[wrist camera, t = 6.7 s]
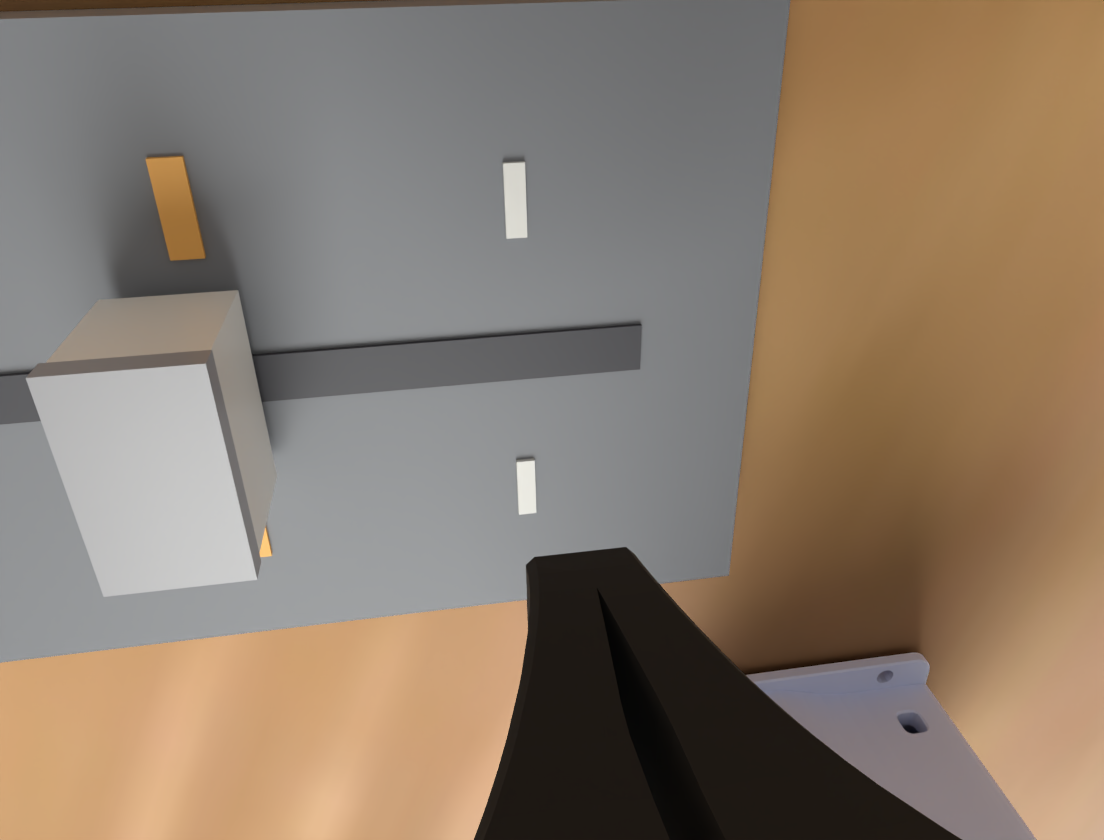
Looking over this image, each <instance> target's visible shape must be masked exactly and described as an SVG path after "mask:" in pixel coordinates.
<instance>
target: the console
mask: <svg viewBox="0 0 1104 840" xmlns="http://www.w3.org/2000/svg"><path fill="white" fill-rule="evenodd" d="M789 8H790V0H385V1H350V2H316V3H281V4H247V5H212V6H177V7H143V8H108V9H74V10H39V11H5V12H0V663H1V662H9V661H17V660H26V659H34V658H42V657H51V656H59V655H68V654H76V653H84V652H93V651H101V650H109V649H118V648H126V647H135V646H143V645H151V644H160V643H168V642H176V641H185V640H193V639H202V638H210V637H218V636H227V635H235V634H243V633H252V632H260V631H269V630H277V629H285V628H294V627H302V626H310V625H319V624H327V623H336V622H344V621H352V620H361V619H369V618H377V617H386V616H394V615H403V614H411V613H419V612H428V611H436V610H444V609H453V608H461V607H470V606H478V605H486V604H495V603H503V602H511V601H520V600H527V585H526V564H527V563H528V562H529V561H531V560H532V559H533V558H534V557H538V556H547V555H556V554H566V553H575V552H584V551H593V550H602V549H611V548H620V547H627V548H628V549H629V550H631V551H632V552H633V553H634V554H635V555H636V556H637V558H638V559H639V560H640V561H641V563H642V564H643V565H644V566H645V567H646V569H647V570H648V571H649V572H650V574H651V575H652V576H653V577H654V578H655V579H656V581H657V582H658V583H659V584H662V583H671V582H679V581H687V580H696V579H704V578H712V577H721V576H729V570H730V560H731V551H732V542H733V532H734V523H735V514H736V504H737V495H738V485H739V476H740V467H741V457H742V448H743V439H744V429H745V420H746V411H747V401H748V392H749V382H750V373H751V364H752V354H753V345H754V336H755V326H756V317H757V308H758V298H759V289H760V280H761V270H762V261H763V251H764V242H765V233H766V223H767V214H768V205H769V195H770V186H771V177H772V167H773V158H774V148H775V139H776V130H777V120H778V111H779V102H780V92H781V83H782V74H783V64H784V55H785V45H786V36H787V27H788V17H789ZM232 290H238V292H239V296H240V301H241V306H242V311H243V316H244V320H245V325H246V330H247V335H248V339H249V344H250V349H251V354H252V359H253V363H254V368H255V373H256V378H257V383H258V387H259V392H260V397H261V402H262V406H263V411H264V416H265V421H266V426H267V430H268V435H269V440H270V445H271V450H272V454H273V459H274V464H275V469H276V473H277V478H276V482H275V487H274V491H273V495H272V500H271V504H270V509H269V513H268V517H267V522H266V526H265V531H264V535H263V540H262V544H261V548H260V558H261V566H260V570H259V575H258V579H257V580H251V581H242V582H233V583H224V584H215V585H206V586H197V587H188V588H179V589H170V590H161V591H152V592H144V593H135V594H126V595H117V596H108V597H104V596H103V594H102V591H101V588H100V585H99V582H98V580H97V577H96V574H95V571H94V568H93V566H92V563H91V560H90V557H89V554H88V552H87V549H86V546H85V543H84V540H83V538H82V535H81V532H80V529H79V526H78V524H77V521H76V518H75V515H74V512H73V510H72V507H71V504H70V501H69V498H68V496H67V493H66V490H65V487H64V484H63V481H62V479H61V476H60V473H59V470H58V467H57V465H56V462H55V459H54V456H53V453H52V451H51V448H50V445H49V442H48V439H47V437H46V434H45V431H44V428H43V425H42V423H41V420H40V417H39V414H38V411H37V409H36V406H35V403H34V400H33V397H32V395H31V392H30V389H29V386H28V383H27V381H26V377H27V376H28V375H29V374H30V372H31V371H32V370H33V369H34V368H35V367H36V365H37V364H38V363H46V362H47V360H48V359H49V358H50V357H51V356H52V355H53V353H54V352H55V351H56V350H57V349H58V347H59V346H60V345H61V344H62V343H63V341H64V340H65V339H66V338H67V337H68V335H69V334H70V333H71V332H72V331H73V329H74V328H75V327H76V326H77V325H78V323H79V322H80V321H81V320H82V319H83V317H84V316H85V315H86V314H87V313H88V312H89V310H90V309H91V308H92V307H93V306H94V304H95V303H96V302H97V301H98V300H104V299H118V298H132V297H147V296H161V295H175V294H189V293H204V292H218V291H232Z"/></svg>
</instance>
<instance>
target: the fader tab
mask: <svg viewBox="0 0 1104 840" xmlns="http://www.w3.org/2000/svg"><path fill="white" fill-rule="evenodd" d="M26 381H27V383H28V386H29V389H30V392H31V395H32V397H33V400H34V403H35V406H36V409H37V411H38V414H39V417H40V420H41V423H42V425H43V428H44V431H45V434H46V437H47V439H48V442H49V445H50V448H51V451H52V453H53V456H54V459H55V462H56V465H57V467H58V470H59V473H60V476H61V479H62V481H63V484H64V487H65V490H66V493H67V496H68V498H69V501H70V504H71V507H72V510H73V512H74V515H75V518H76V521H77V524H78V526H79V529H80V532H81V535H82V538H83V540H84V543H85V546H86V549H87V552H88V554H89V557H90V560H91V563H92V566H93V568H94V571H95V574H96V577H97V580H98V582H99V585H100V588H101V591H102V594H103V596H104V597H108V596H117V595H126V594H135V593H144V592H152V591H161V590H170V589H179V588H188V587H197V586H206V585H215V584H224V583H233V582H242V581H251V580H257V579H258V575H259V570H260V566H261V558H260V548H261V544H262V540H263V535H264V531H265V526H266V522H267V517H268V513H269V509H270V504H271V500H272V495H273V491H274V487H275V482H276V478H277V473H276V469H275V464H274V459H273V454H272V450H271V445H270V440H269V435H268V430H267V426H266V421H265V416H264V411H263V406H262V402H261V397H260V392H259V387H258V383H257V378H256V373H255V368H254V363H253V359H252V354H251V349H250V344H249V339H248V335H247V330H246V325H245V320H244V316H243V311H242V306H241V301H240V296H239V292H238V290H232V291H218V292H204V293H189V294H175V295H161V296H147V297H132V298H118V299H104V300H98V301H97V302H96V303H95V304H94V306H93V307H92V308H91V309H90V310H89V312H88V313H87V314H86V315H85V316H84V317H83V319H82V320H81V321H80V322H79V323H78V325H77V326H76V327H75V328H74V329H73V331H72V332H71V333H70V334H69V335H68V337H67V338H66V339H65V340H64V341H63V343H62V344H61V345H60V346H59V347H58V349H57V350H56V351H55V352H54V353H53V355H52V356H51V357H50V358H49V359H48V360H47V362H46V363H38V364H37V365H36V367H35V368H34V369H33V370H32V371H31V372H30V374H29V375H28V376H27V377H26Z"/></svg>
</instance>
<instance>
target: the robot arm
mask: <svg viewBox="0 0 1104 840" xmlns="http://www.w3.org/2000/svg"><path fill="white" fill-rule="evenodd" d="M526 585H527V612H528V635H527V642H526V648H525V655H524V661H523V668H522V674H521V680H520V685H519V689H518V694H517V698H516V702H515V706H514V711H513V715H512V719H511V723H510V728H509V732H508V736H507V740H506V743H505V747H504V750H503V754H502V757H501V761H500V764H499V768H498V771H497V774H496V777H495V781H494V784H493V787H492V790H491V793H490V796H489V799H488V802H487V805H486V808H485V811H484V814H483V817H482V819H481V822H480V825H479V827H478V830H477V833H476V835H475V838H474V840H1036V838H1035V837H1034V835H1033V834H1032V832H1031V831H1030V829H1029V828H1028V827H1027V825H1026V824H1025V822H1024V821H1023V820H1022V818H1021V817H1020V815H1019V814H1018V813H1017V811H1016V810H1015V808H1014V807H1013V806H1012V804H1011V803H1010V801H1009V800H1008V799H1007V797H1006V796H1005V794H1004V793H1003V792H1002V790H1001V789H1000V787H999V786H998V785H997V783H996V782H995V780H994V779H993V778H992V776H991V775H990V773H989V772H988V770H987V769H986V768H985V766H984V765H983V763H982V762H981V761H980V759H979V758H978V756H977V755H976V754H975V752H974V751H973V749H972V748H971V747H970V745H969V744H968V742H967V741H966V740H965V738H964V737H963V735H962V734H961V733H960V731H959V730H958V728H957V727H956V726H955V724H954V723H953V721H952V720H951V719H950V717H949V716H948V714H947V713H946V712H945V710H944V709H943V707H942V706H941V705H940V703H939V702H938V700H937V699H936V698H935V696H934V695H933V693H932V692H931V690H930V689H929V688H928V686H927V685H926V681H927V677H928V674H929V670H930V665H929V663H928V662H927V660H926V659H925V657H924V656H923V655H922V654H920V653H904V654H897V655H890V656H882V657H875V658H867V659H860V660H853V661H845V662H838V663H830V664H823V665H816V666H808V667H801V668H793V669H786V670H779V671H771V672H764V673H756V674H749V675H745V674H744V673H743V672H742V671H741V670H740V669H739V668H738V667H737V666H736V665H735V664H734V663H733V662H732V661H731V660H730V659H729V658H728V657H727V656H726V655H725V654H724V653H723V652H722V651H721V650H720V649H719V648H718V647H717V646H716V645H715V644H714V643H713V642H712V641H711V640H710V639H709V638H708V637H707V636H706V635H705V634H704V633H703V632H702V631H701V630H700V629H699V628H698V627H697V626H696V624H695V623H694V622H693V621H692V620H691V619H690V618H689V617H688V616H687V615H686V614H685V613H684V611H683V610H682V609H681V608H680V607H679V606H678V605H677V604H676V602H675V601H674V600H673V599H672V598H671V597H670V596H669V595H668V593H667V592H666V591H665V590H664V589H663V588H662V587H661V585H660V584H659V583H658V582H657V581H656V579H655V578H654V577H653V576H652V575H651V574H650V572H649V571H648V570H647V569H646V567H645V566H644V565H643V564H642V563H641V561H640V560H639V559H638V558H637V556H636V555H635V554H634V553H633V552H632V551H631V550H629V549H628V548H627V547H620V548H611V549H602V550H593V551H584V552H575V553H566V554H556V555H547V556H538V557H534V558H533V559H532V560H531V561H529V562H528V563H527V564H526Z"/></svg>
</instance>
